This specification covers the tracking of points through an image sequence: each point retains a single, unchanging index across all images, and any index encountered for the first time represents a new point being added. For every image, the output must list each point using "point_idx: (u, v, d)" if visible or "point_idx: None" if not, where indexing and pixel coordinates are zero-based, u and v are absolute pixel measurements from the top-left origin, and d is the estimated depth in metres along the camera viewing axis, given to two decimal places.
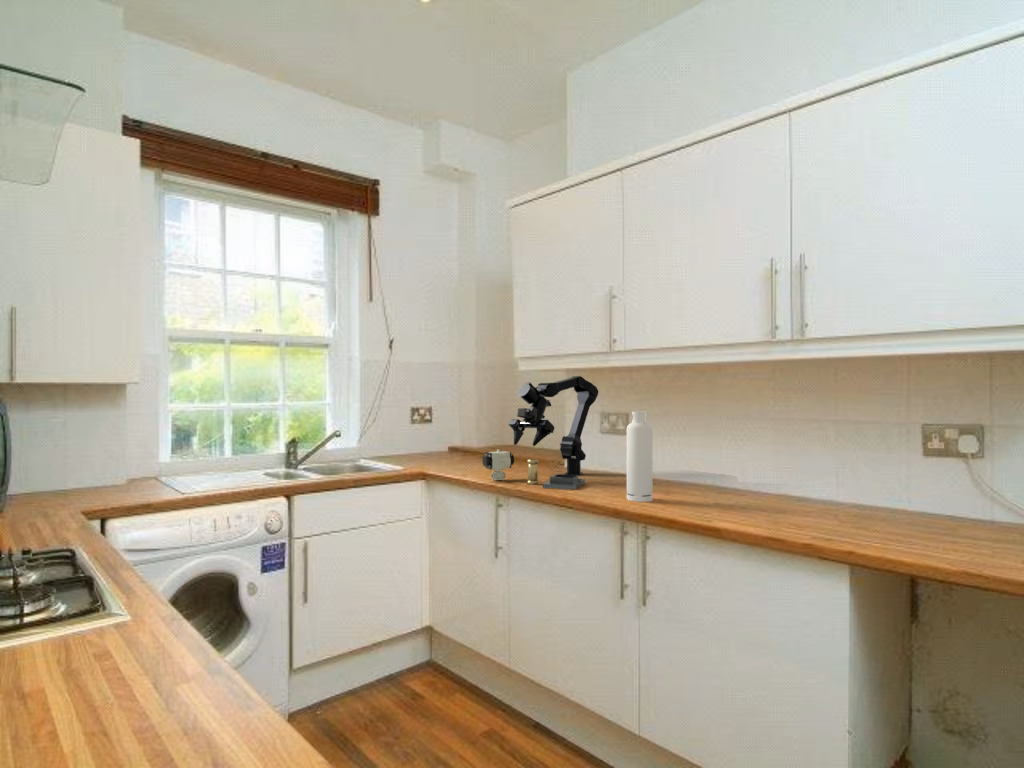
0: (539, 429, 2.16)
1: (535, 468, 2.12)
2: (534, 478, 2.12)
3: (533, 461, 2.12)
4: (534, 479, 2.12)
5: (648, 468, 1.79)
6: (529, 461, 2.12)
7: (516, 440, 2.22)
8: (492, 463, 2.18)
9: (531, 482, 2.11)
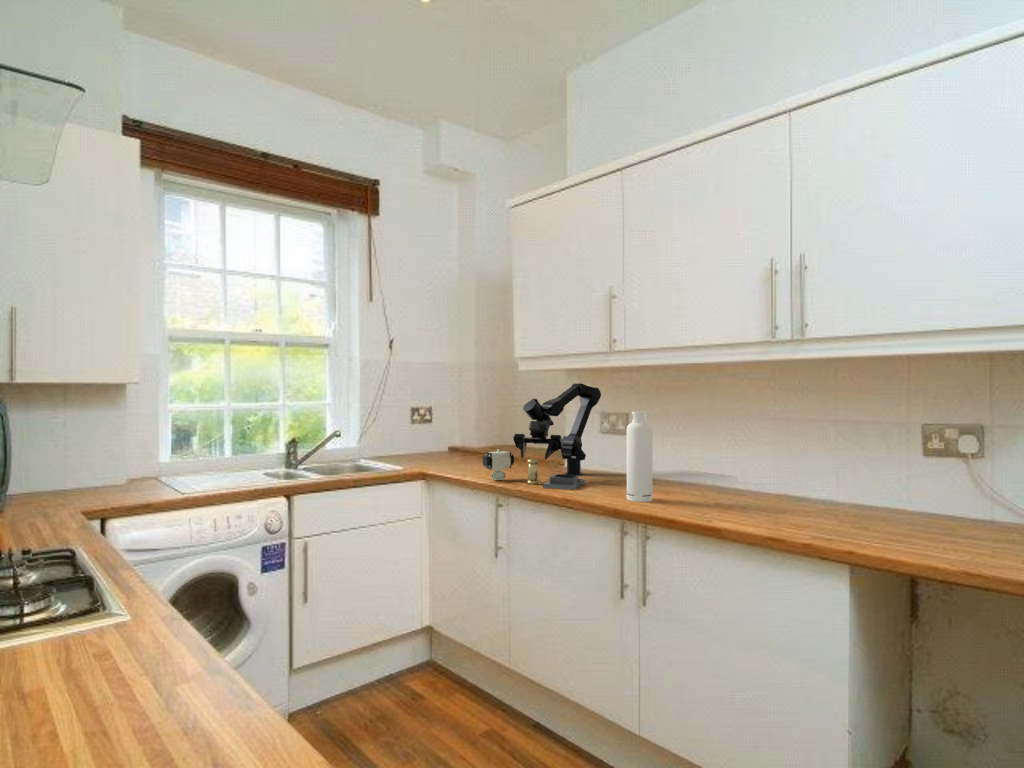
0: (551, 443, 2.16)
1: (535, 468, 2.12)
2: (534, 478, 2.12)
3: (533, 461, 2.12)
4: (534, 479, 2.12)
5: (648, 468, 1.79)
6: (529, 461, 2.12)
7: (523, 454, 2.18)
8: (492, 463, 2.18)
9: (531, 482, 2.11)
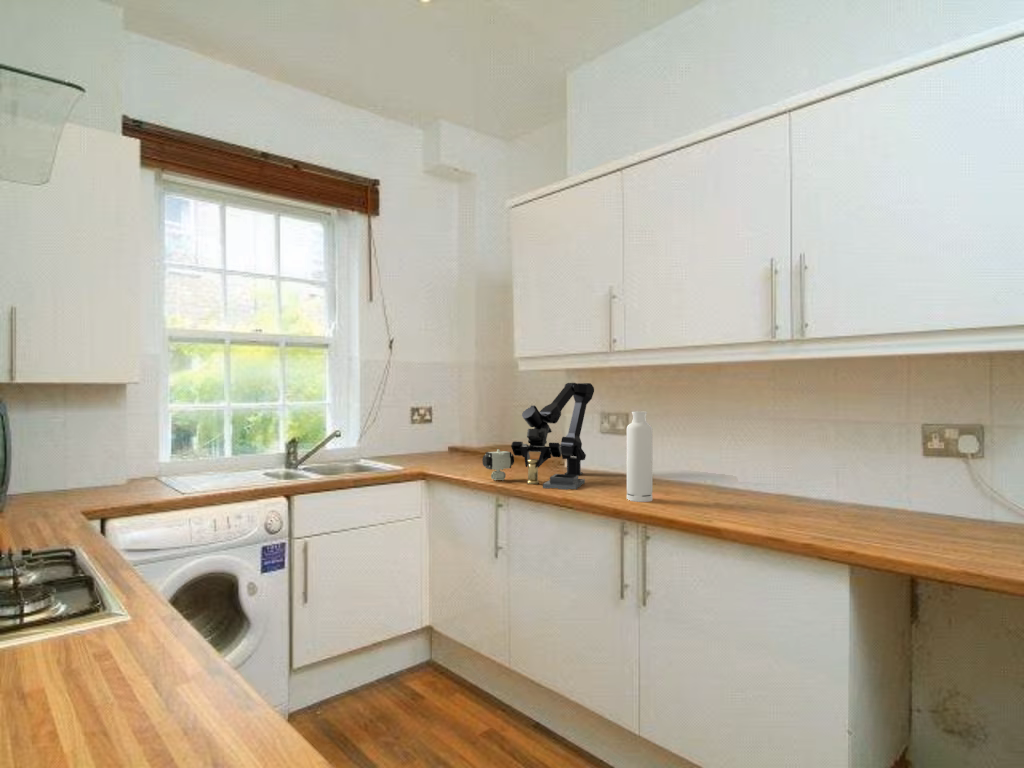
0: (544, 451, 2.14)
1: (535, 468, 2.12)
2: (534, 478, 2.12)
3: (533, 461, 2.12)
4: (534, 479, 2.12)
5: (648, 468, 1.79)
6: (529, 461, 2.12)
7: None
8: (492, 463, 2.18)
9: (531, 482, 2.11)
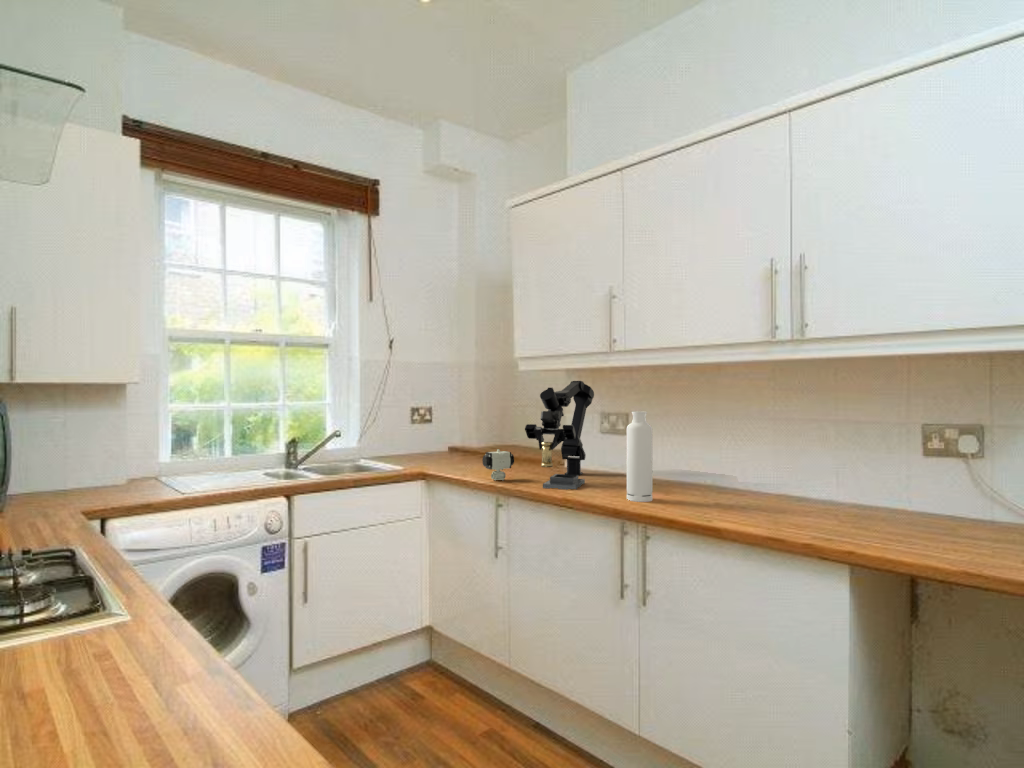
0: (558, 433, 2.12)
1: (549, 450, 2.11)
2: (548, 460, 2.10)
3: (547, 443, 2.10)
4: (548, 462, 2.10)
5: (648, 468, 1.79)
6: (543, 443, 2.11)
7: None
8: (492, 463, 2.18)
9: (545, 464, 2.10)
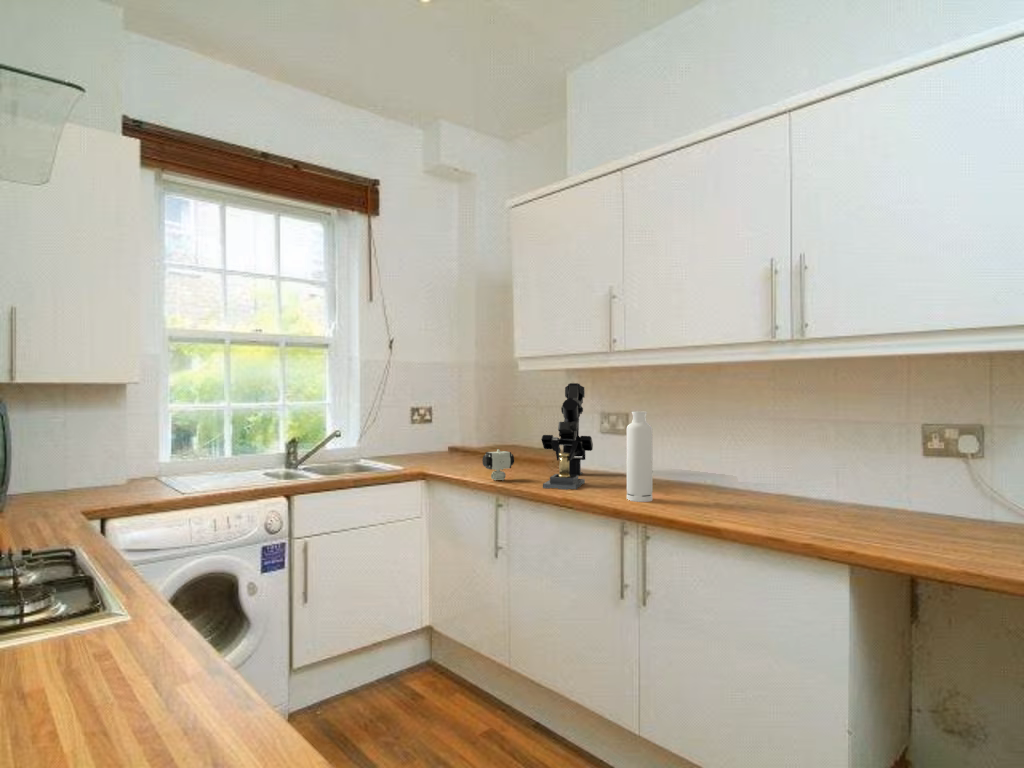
0: (575, 444, 2.10)
1: (567, 462, 2.08)
2: (565, 471, 2.08)
3: (565, 455, 2.08)
4: (566, 473, 2.08)
5: (648, 468, 1.79)
6: (561, 455, 2.08)
7: (558, 456, 2.11)
8: (492, 463, 2.18)
9: (563, 476, 2.08)
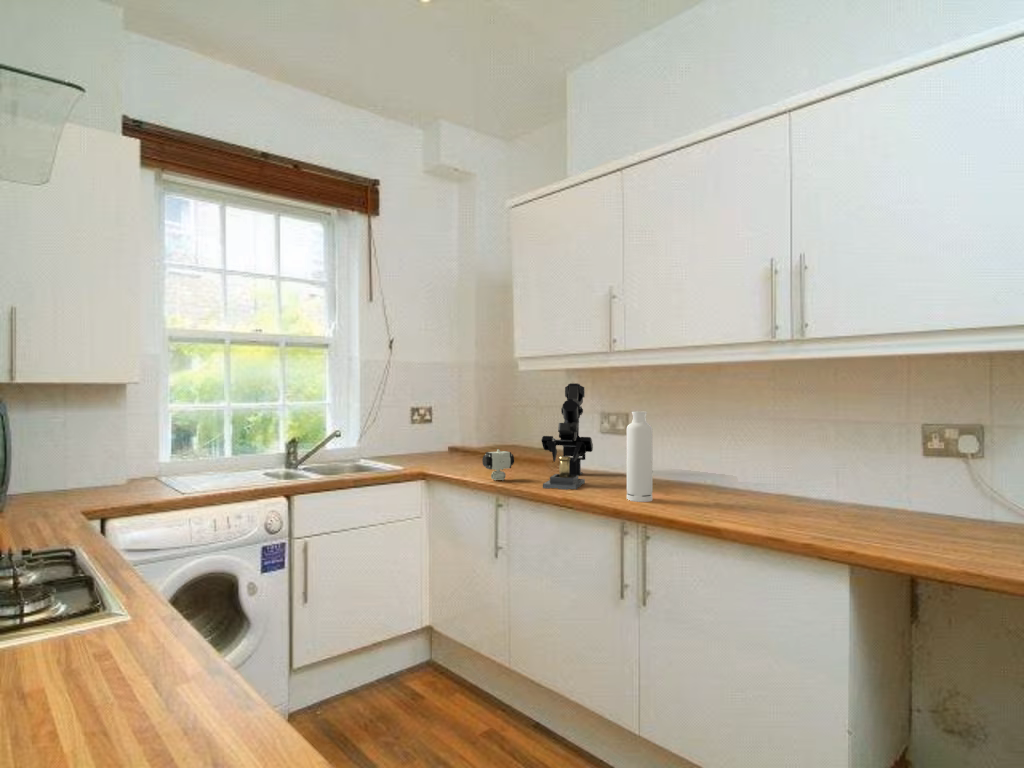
0: (579, 445, 2.10)
1: (567, 465, 2.08)
2: (565, 475, 2.08)
3: (565, 458, 2.08)
4: (566, 476, 2.08)
5: (648, 468, 1.79)
6: (561, 458, 2.08)
7: (555, 457, 2.11)
8: (492, 463, 2.18)
9: None
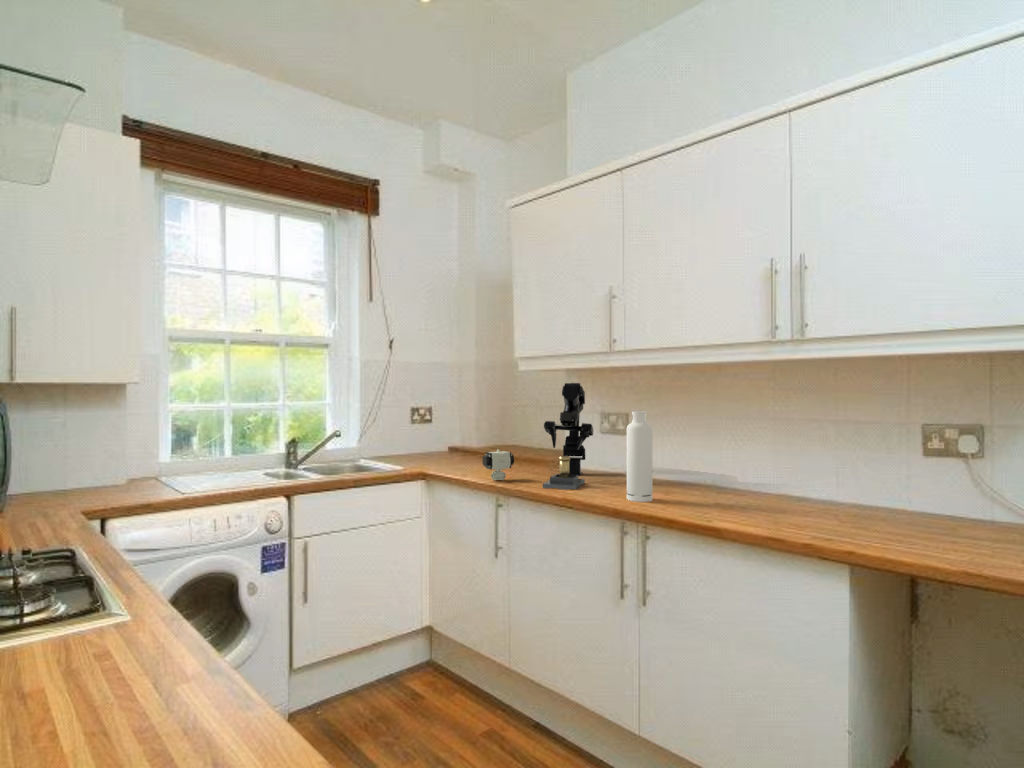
0: (583, 433, 2.18)
1: (567, 465, 2.08)
2: (565, 475, 2.08)
3: (565, 458, 2.08)
4: None
5: (648, 468, 1.79)
6: (561, 458, 2.08)
7: (555, 443, 2.21)
8: (492, 463, 2.18)
9: None
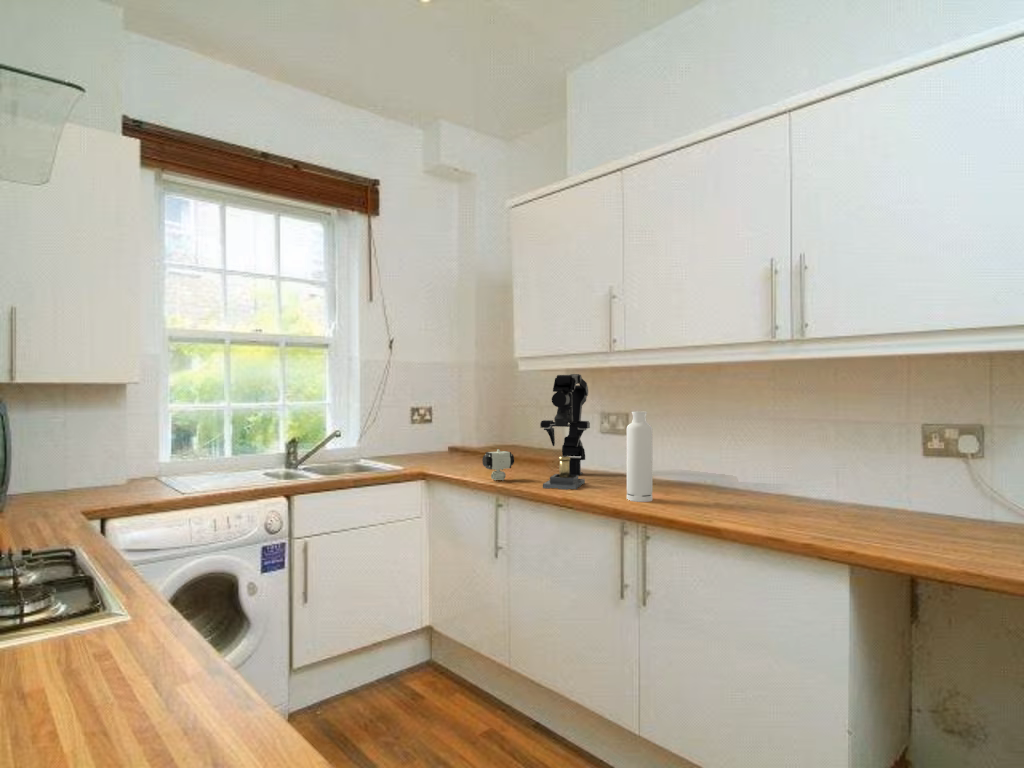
0: (579, 432, 2.20)
1: (567, 465, 2.08)
2: (565, 475, 2.08)
3: (565, 458, 2.08)
4: None
5: (648, 468, 1.79)
6: (561, 458, 2.08)
7: (554, 441, 2.26)
8: (492, 463, 2.18)
9: None
